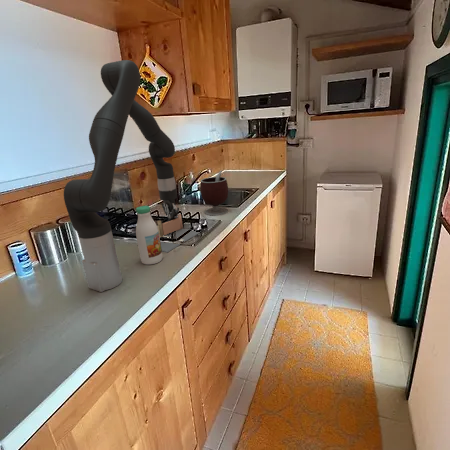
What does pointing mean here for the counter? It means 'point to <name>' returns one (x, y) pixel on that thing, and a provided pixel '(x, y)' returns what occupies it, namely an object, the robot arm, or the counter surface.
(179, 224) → the fence gate
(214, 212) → the mate gourd
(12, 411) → the counter surface
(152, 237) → the milk bottle
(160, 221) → the fence fixed
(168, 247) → the card
